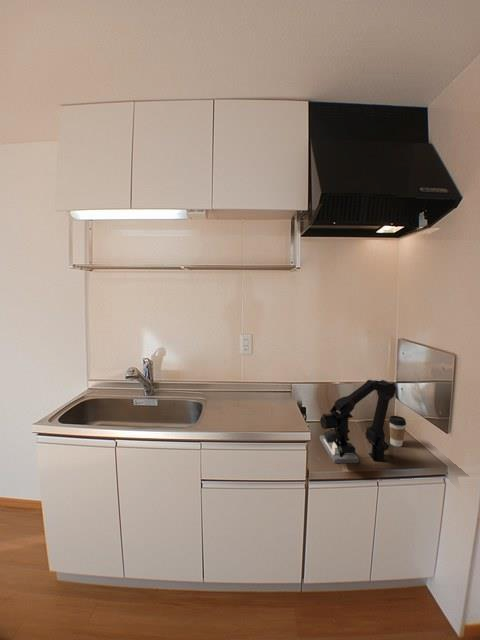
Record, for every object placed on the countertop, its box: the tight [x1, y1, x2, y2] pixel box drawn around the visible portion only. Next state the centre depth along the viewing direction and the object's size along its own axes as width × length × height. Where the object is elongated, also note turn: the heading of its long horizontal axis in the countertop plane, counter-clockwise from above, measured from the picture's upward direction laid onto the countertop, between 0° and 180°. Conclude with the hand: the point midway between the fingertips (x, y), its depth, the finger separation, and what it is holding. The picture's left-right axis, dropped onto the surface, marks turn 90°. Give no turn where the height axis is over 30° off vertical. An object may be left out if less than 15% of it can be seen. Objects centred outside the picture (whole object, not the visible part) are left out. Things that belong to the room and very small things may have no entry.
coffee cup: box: [388, 415, 407, 448], centre depth 165 cm, size 8×8×15 cm
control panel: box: [319, 434, 360, 464], centre depth 160 cm, size 24×12×3 cm, turn 2°
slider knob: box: [332, 444, 339, 454], centre depth 153 cm, size 4×3×4 cm
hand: (340, 456), depth 147 cm, fingers closed
